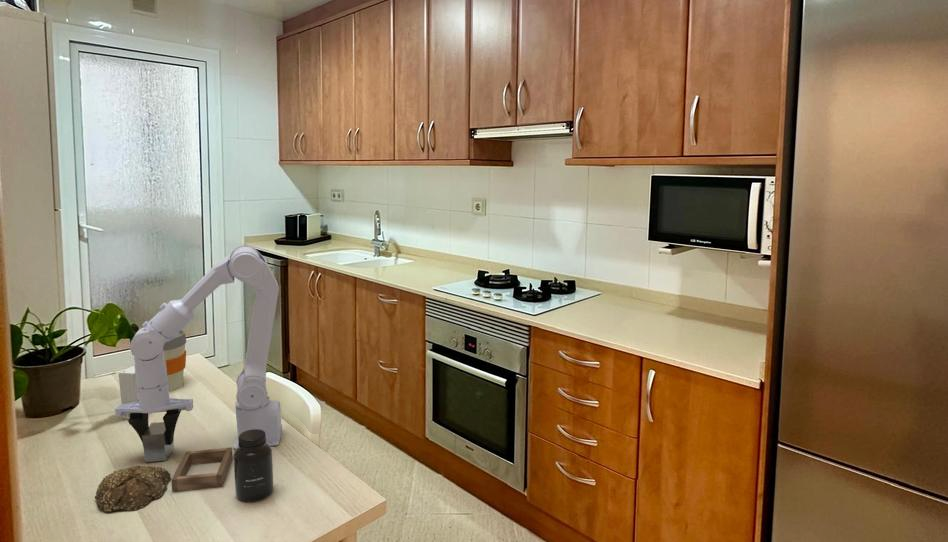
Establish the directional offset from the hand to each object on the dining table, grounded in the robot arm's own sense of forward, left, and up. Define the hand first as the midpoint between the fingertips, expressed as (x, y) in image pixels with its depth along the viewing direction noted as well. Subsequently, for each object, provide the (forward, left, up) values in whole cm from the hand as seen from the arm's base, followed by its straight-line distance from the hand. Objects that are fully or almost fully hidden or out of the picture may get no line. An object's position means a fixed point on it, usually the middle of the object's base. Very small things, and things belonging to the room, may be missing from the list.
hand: (158, 443), depth 122 cm
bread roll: (+1, +14, -3) cm, 15 cm away
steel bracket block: (0, 0, -2) cm, 2 cm away
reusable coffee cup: (+10, -41, -3) cm, 42 cm away
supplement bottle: (-22, +19, -3) cm, 29 cm away
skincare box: (+11, -23, -3) cm, 26 cm away
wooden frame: (-11, +10, -3) cm, 15 cm away
